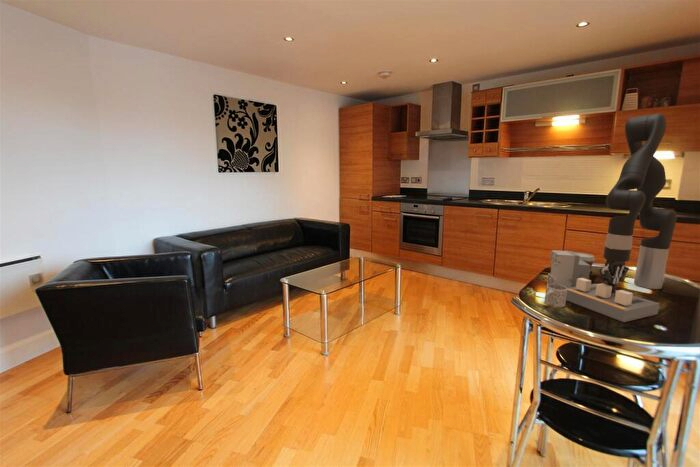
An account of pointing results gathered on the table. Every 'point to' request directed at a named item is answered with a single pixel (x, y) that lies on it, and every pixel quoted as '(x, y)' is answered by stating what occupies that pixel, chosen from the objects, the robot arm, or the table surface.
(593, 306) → the slider control panel
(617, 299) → the handle
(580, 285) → the handle
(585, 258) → the disposable coffee cup
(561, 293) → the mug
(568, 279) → the circuit breaker
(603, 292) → the handle
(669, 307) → the table surface
